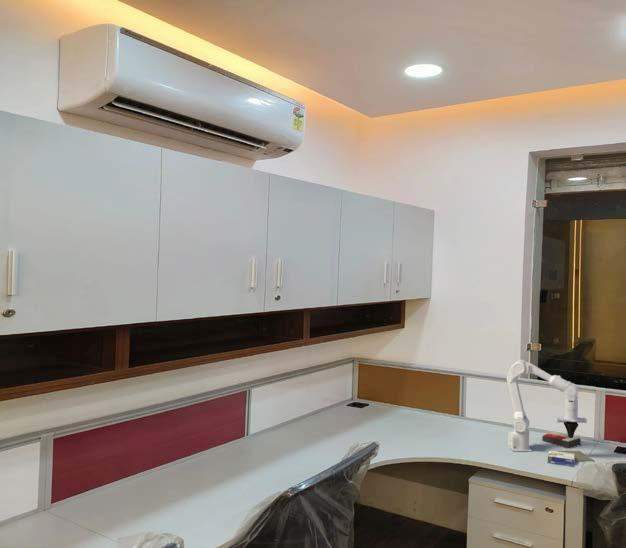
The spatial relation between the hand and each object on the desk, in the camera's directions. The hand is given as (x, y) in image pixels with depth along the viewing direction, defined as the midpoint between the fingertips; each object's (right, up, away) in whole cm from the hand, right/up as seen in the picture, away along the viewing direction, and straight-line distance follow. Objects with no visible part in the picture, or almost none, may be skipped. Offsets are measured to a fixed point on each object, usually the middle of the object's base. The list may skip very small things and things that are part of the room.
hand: (570, 437), depth 269 cm
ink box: (-5, -8, -1) cm, 9 cm away
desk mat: (+2, -9, 0) cm, 10 cm away
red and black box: (+5, -10, +22) cm, 25 cm away
